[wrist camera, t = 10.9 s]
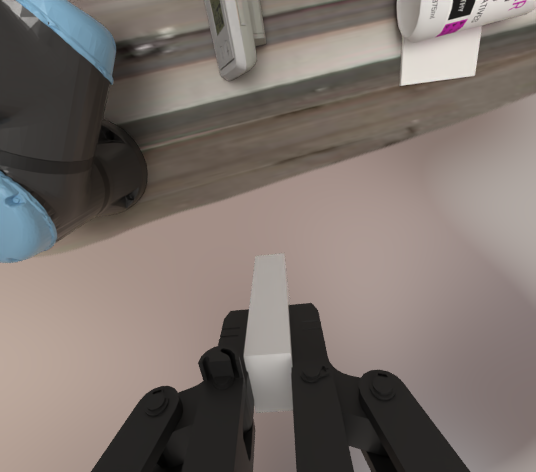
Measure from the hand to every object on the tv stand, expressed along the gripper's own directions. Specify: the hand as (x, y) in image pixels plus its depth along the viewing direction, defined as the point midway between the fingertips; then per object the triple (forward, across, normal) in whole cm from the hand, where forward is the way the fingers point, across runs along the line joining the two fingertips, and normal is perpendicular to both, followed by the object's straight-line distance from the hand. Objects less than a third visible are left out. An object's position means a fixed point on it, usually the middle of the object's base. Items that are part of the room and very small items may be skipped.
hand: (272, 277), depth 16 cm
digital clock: (+35, -4, +20) cm, 40 cm away
